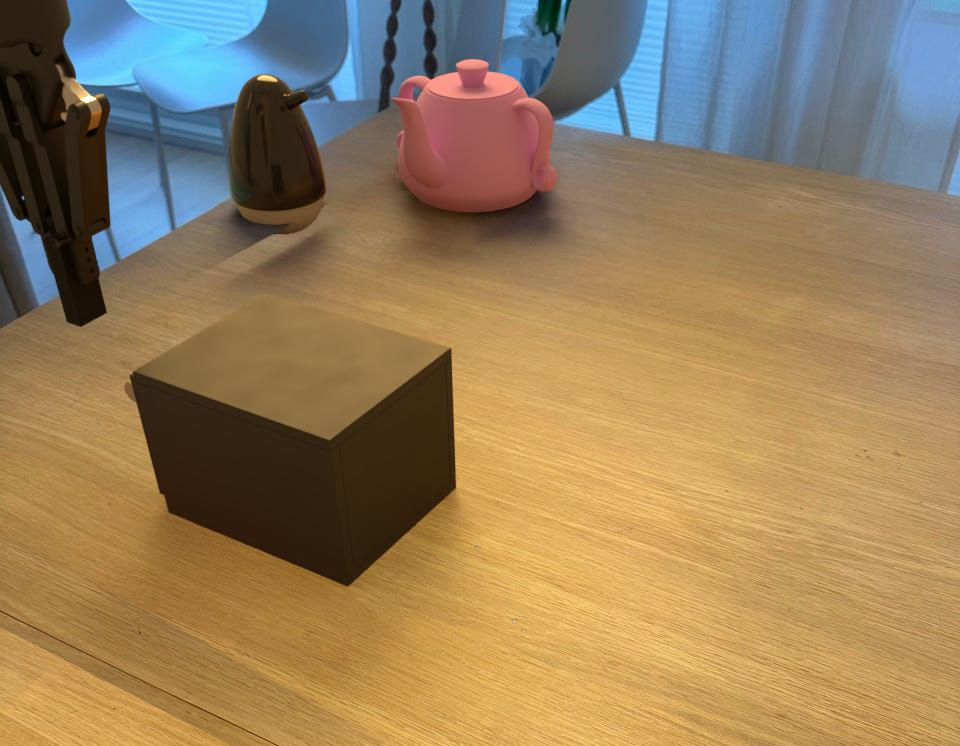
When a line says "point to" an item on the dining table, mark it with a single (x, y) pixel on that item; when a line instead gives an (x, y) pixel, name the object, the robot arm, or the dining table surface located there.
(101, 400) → the dining table surface
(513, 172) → the teapot
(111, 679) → the dining table surface
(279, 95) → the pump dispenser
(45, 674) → the dining table surface
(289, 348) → the cabinet
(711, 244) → the dining table surface
